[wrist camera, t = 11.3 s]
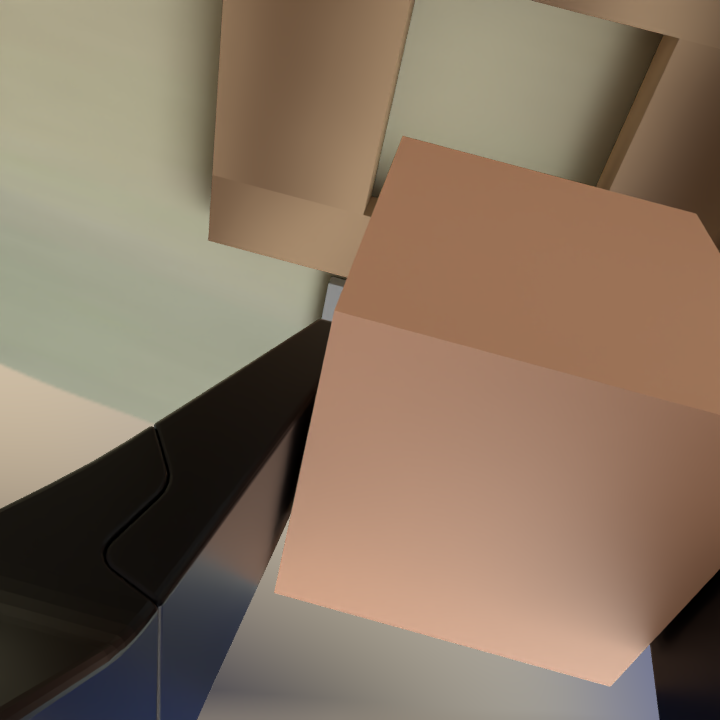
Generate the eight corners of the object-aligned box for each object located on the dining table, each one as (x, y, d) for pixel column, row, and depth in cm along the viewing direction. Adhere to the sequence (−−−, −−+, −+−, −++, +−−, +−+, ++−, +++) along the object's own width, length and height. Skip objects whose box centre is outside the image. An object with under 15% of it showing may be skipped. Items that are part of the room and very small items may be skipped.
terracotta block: (696, 214, 10) (834, 446, 6) (575, 428, 12) (609, 686, 8) (402, 135, 10) (335, 311, 6) (346, 366, 12) (273, 593, 8)
